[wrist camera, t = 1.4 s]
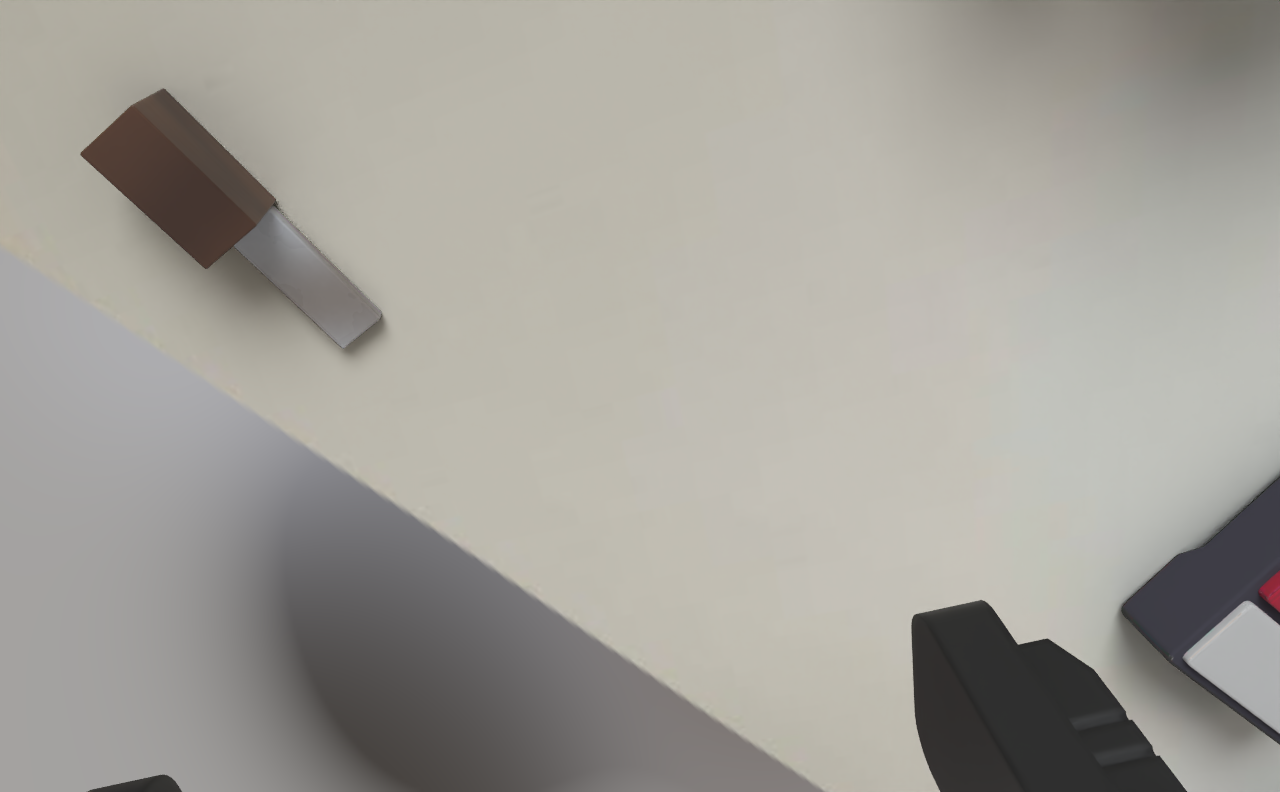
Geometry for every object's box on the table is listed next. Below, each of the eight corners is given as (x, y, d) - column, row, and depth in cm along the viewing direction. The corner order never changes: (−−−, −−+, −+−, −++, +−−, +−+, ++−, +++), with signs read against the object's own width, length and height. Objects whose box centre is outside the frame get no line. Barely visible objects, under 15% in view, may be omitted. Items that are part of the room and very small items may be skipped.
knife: (114, 133, 29) (78, 154, 27) (163, 87, 29) (131, 104, 26) (341, 346, 33) (328, 381, 31) (387, 309, 33) (377, 341, 30)
